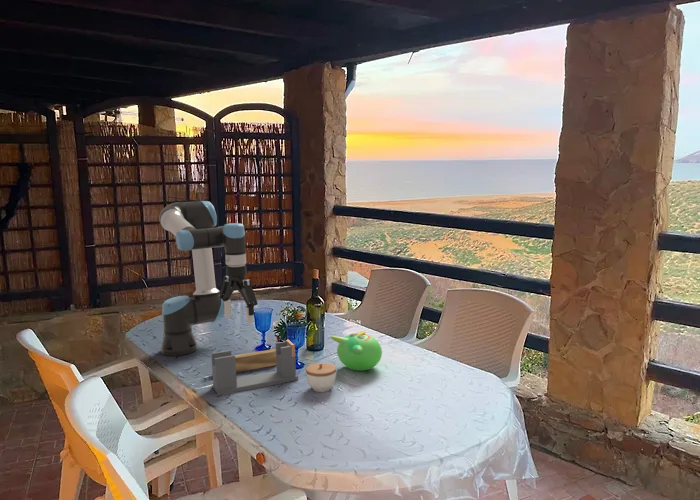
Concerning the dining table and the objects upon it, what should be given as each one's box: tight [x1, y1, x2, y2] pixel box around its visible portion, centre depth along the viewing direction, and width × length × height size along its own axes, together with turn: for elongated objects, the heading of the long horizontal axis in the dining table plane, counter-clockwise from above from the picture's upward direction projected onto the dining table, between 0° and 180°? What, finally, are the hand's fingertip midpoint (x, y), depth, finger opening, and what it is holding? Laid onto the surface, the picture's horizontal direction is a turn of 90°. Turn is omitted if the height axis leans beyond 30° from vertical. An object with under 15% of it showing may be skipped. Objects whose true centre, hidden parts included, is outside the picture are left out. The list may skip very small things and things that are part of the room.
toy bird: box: [330, 330, 383, 372], centre depth 214 cm, size 18×17×15 cm
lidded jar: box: [305, 362, 337, 393], centre depth 196 cm, size 11×11×9 cm
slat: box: [234, 348, 277, 373], centre depth 217 cm, size 3×24×6 cm, turn 115°
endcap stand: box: [210, 339, 299, 396], centre depth 202 cm, size 9×30×14 cm, turn 115°
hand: (239, 320), depth 208 cm, fingers open, 13 cm apart
